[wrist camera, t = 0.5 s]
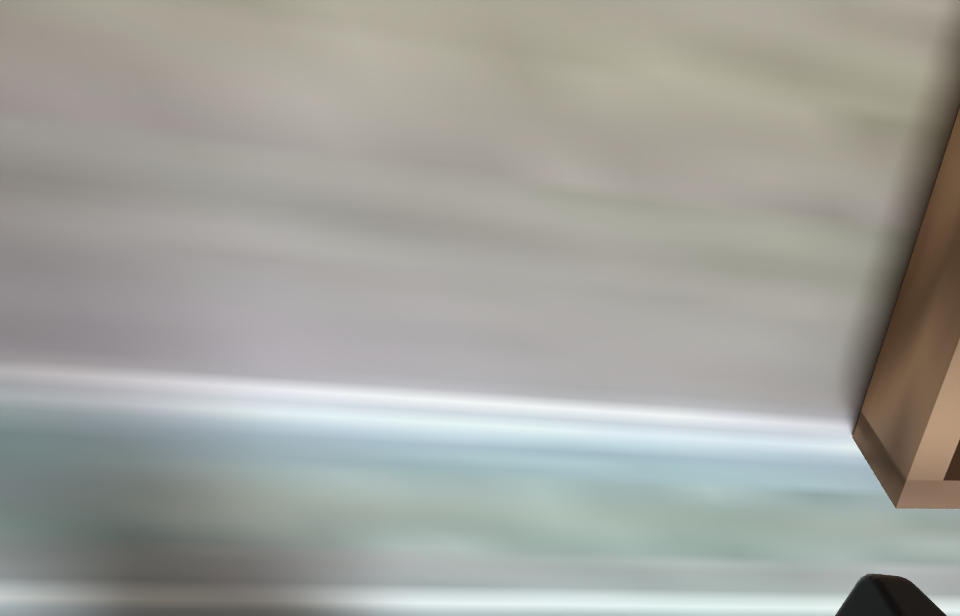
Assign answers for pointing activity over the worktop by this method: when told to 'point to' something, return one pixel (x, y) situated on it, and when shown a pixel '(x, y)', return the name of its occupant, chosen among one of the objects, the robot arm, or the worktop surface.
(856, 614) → the robot arm
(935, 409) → the bay
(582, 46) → the worktop surface
